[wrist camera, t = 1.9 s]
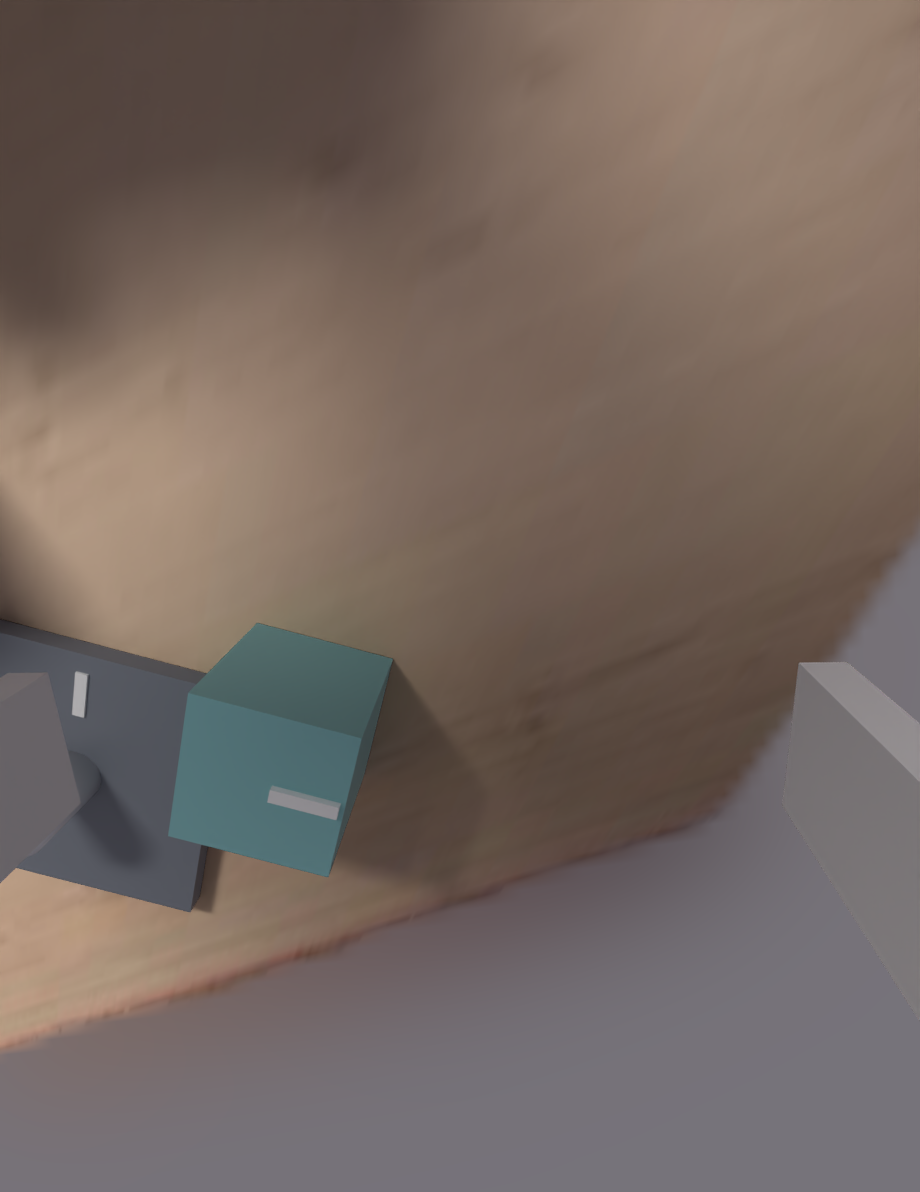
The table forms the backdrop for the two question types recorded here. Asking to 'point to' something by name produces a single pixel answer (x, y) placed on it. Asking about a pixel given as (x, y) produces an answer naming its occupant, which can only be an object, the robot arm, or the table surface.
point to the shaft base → (114, 766)
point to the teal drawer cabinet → (278, 748)
